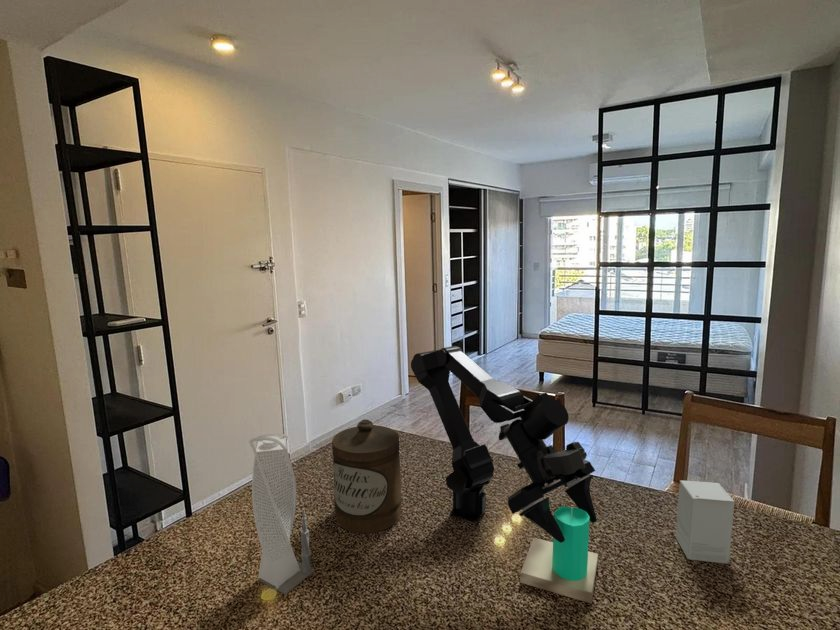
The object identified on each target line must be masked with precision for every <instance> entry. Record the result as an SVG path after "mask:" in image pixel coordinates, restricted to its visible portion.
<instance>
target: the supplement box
mask: <svg viewBox="0 0 840 630" xmlns="http://www.w3.org/2000/svg"><path fill="white" fill-rule="evenodd" d="M677 503H678V504H677V515H676V527H675V539H676V540H677V542H678V544H679V545H680V547H681V549H682V551H683V553H684V554H685V556H686V558H687V560H690V561H691V560H692V561H699V562H707V563H708V562H709V563H710V562H711V563H716V564H717V563H718V564H719V563H720V564H730V557H731V556H730V555H731V545H732V534H733V523H734V522H733V521H734V511H735V503H736V502H735V500H734V499H733V498H732V497H731V496H730V495H729V493H728V492H727V491H726V490H725V488H724V487H722V485H721V484H720V483H719V482H711V481H709V482H708V481H697V480H696V481H695V480H679V488H678V501H677Z"/></svg>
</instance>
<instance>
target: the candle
mask: <svg viewBox="0 0 840 630" xmlns="http://www.w3.org/2000/svg"><path fill="white" fill-rule="evenodd" d="M553 517H554V518H555V520H556V522H557V524H558V526H559V528H560V529H561V531H562V534H563V536H564V538H565V541H564V542H562V543H560V542H559V541H557V540H556V539H555V538H554V537H552V542H553V557H552V567H553V570H554V572H555V573H556V574H557V575H559V576H560V577H561V578H564V579H567V580H571V581H573V580H581V579H583V578H585V577H586V574H587V564H588V551H589V543H590V541H589V540H590V539H589V538H590V522H591V521H590V517H589V515H588V514H587V512H586V511H584V510H582V509H580V508H578V507H569V506H568V507H567V506H564V505H563V506H562V505H561V506H560V507H559V508H557V509H556V510H555V511H554V512H553Z"/></svg>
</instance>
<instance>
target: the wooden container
mask: <svg viewBox="0 0 840 630" xmlns="http://www.w3.org/2000/svg"><path fill="white" fill-rule="evenodd" d="M331 440H332V442H331V448H332V449H331V450H332V457H333V459H332V460H333V462H332V463H333V496H334V497H333V499H334V515H335V521H336V523H337V524H338V526H340V527H341V528H342V529H345V530H346V531H349V532H352V533H359V534H360V533H361V534H371V533H377V532H382V531H384V530H387V529H389V528H390V527H392V526H394V525H395V524H396V523H397V522H398V521H399V520H400V518H401V516H402V508H403V506H402V479H401V478H402V476H401V475H402V473H401V460H400V438H399V434H398V432H397V431H396V430H394V429H393V428H391V427H388V426H383V425H375V424H374V423H373V421H372V420H369V419H362V420H360V421H359V422H358V423H357V425H356V426H353V427H350V428H349V427H348V428H347V429H344V430H342V431H341V430H340V431H339V432H338V433H336V434H335V435H334V436H333V438H332V439H331Z"/></svg>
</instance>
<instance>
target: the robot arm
mask: <svg viewBox="0 0 840 630" xmlns="http://www.w3.org/2000/svg"><path fill="white" fill-rule="evenodd" d="M410 367H411V368H410V369H411V370H412V372H413V375H414V377H415V378H416V380H417V382H418V383H419V384H420V385H421V386H423V387H424V388H425V389H426V390H428V391H429V393H430V396H431V399H432V401H433V403H434V406H435V408H436V410H437V413H438V415H439V417H440V420H441V423H442V425H443V428H444V430H445V433H446V435H447V438H448V441H449V443H450V445H451V447H452V457H451V466H452V469H453V471H452V472H451V473H450V474H449V475H448V476H446V477H445V482H446V486H447V488H448V489H450V490H451V491H452V509H451V510H450V512H449V515H450V516H452V517H457V518H460V519H463V520H464V519H465V520H468V521H473V522H478V521H479V520H480V518H481V517H482V516H483V515H484V513H485V512H486V510H487V509H486V508H487V507H486V506H487V504H486V503H487V497H486V496H487V493H486V492H485V491H484V490H485V489H484V487H485V486H486V485H489V484H490V483H491V482H490V481H491V479H492V478H493V476H494V472H495V466H494V463H493V462H494V459H493V457H492V456H491V454H490V453H489V449H488V446H487V445H486V444H485V443H483V444H479V443H477V442H476V441H475V440H474V438H473V436H472V433H471V431H470V429H469V427H468V424H467V422H466V420H465V417H464V415H463V412H462V410H461V408H460V406H459V403H458V402H457V399H456V396H455V394H454V392H453V390H452V387H451V385H450V382H449V381H450V373H452V374H453V375H454V376H455V377H456V378H457V379H458V380H459V381H460V382H461V383H462V384H463V385H465V386H466V387H467V389H469V390H470V391H471V392H472V393H473V394H474V395H475V396H476V397H477V398H478V401H479V406H480V408H481V410H482V411H483V412H484V414H486V416H487V417H488V418H489V420H491V422H493V423H495V424H500V423H503V422H507V421H511V423H506V424H502V425H500V429H499V430H500V431H499V434H498V440H499V441H503V440H506V439H507V441H508V442H509V443H510V444H509V445H511V448H512V449H513V451H514V452H515V454H516V456H517V458H518V459H519V463H517V467H518V469H519V470H522V469H524V470H525V472H526V473H527V476H528V477H529V480H530V481H531V483H529V484H527V485H525V486H523V487H521V488H520V489H518V490H516V492H514V493H512V494H511V495H509V496H508V497H507V506H508V508H509V509H510V511H511V514H512V515H514V514H516V513H518V512H520V511H521V512H520V513H519V514H518V515H519V516H520V517H522V516H523V517H525V518H526V519H528V520H530V521H531V522H532V523H534V524H535V525H537V526H538V527H539V528H541V529H543V531H545V532H546V533H547V534H549V536H551V537H552V538H553V537H554V538H555V539H556V540H557V541H559V542H560V543H562V542H564V541H565V538H564V536H563V534H562V531H561V529H560V528H559V526H558V524H557V522H556V520H555V518H554V514H553V513H552V511H551V509H550V497H549V496H548V497H546V498H544V495H546V494H549V493H550V492H552V491H554V490H556V489H558V488H560V487H561V486H564V487H566V488H567V487H568V488H567V489H565V490H564V492H565V493H566V495H567V496H568V497H569V498H570V499H571V501H572V502H573V503H574V504H575V505H576V508H580V509H582V510H584V511H586V512H587V514H588V515H589V517H590V521H589V522H590V523H592V524H595V523H596V522H598V519H597V515H596V512H595V511H596V510H595V507H594V503H593V500H592V496H591V492H590V491H591V490H590V487H591V482H592V479H593V478H594V475H593V474H592V473H594V472H596V469H595V468H594V466H593V465H592V463H591V461H589V460H587V457H588V456H587V455H588V454H587V452H586V451H585V448H584V447H583V446H582V444H581V443H580V442H579V441H574V442H570V443H569V444H567V445H566V449H563V450H561V451H557V449H556V447H554V446H553V445H548V446H547V444H546V443H545V441H544V440H546V439H548V438H549V437H551V436H552V435H554V434H555V433H556V432H557V431H559V430H560V429H562V428H563V427H565V425H566V424H568V422H569V419H570V418H569V417H570V416H569V413H568V410H567V409H566V407H565V405H564V404H562V403H561V402H560V401H558V400H557V399H555V398H553V397H550V396H549V394H548V393H547V392H541V393H539V394H537V395H536V396H535V397H533V399H531V398H529V397H527V396H525V395H523V393H522V392H521V391H520V390H518V389H517V388H516V387H513V386H512V385H510V384H509V383H506V382H502V381H499V380H496V379H495V378H493V377H492V376H491V375H489V373H487V372H486V371H485V370H484V369H483V368H481V367H480V366H479V365H478V364H477V363H476V362H475V361H473V360H472V359H471V358H470V357H469V356H467V355H466V354H465V353H464V352H463V350H462V348H461V347H459V346H457V345H453V346H452V345H451V346H447V347H442V348H440V349H434V350H430V351H429V350H428V351H424V352H423V351H421V352H418V353H415V354H414V355H413V356H412V359H411V361H410ZM518 418H519V419H518ZM546 484H547V485H546Z"/></svg>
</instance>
